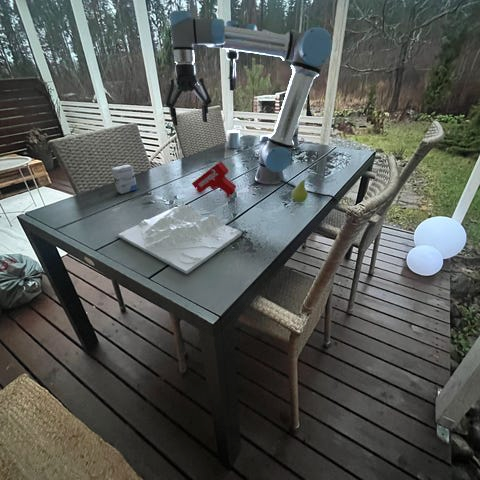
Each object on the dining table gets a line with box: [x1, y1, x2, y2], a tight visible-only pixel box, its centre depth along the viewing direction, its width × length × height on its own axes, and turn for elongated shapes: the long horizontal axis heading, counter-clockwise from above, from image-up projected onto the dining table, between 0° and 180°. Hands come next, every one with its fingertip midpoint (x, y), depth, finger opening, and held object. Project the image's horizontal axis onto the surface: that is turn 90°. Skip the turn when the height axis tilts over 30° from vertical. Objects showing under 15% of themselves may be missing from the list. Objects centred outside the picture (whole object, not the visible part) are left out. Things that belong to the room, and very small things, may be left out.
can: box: [227, 129, 241, 149], centre depth 202 cm, size 9×9×11 cm
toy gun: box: [191, 161, 237, 197], centre depth 128 cm, size 18×4×15 cm
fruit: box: [291, 174, 311, 204], centre depth 118 cm, size 7×8×12 cm
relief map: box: [117, 202, 243, 275], centre depth 96 cm, size 27×35×5 cm
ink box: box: [110, 164, 138, 195], centre depth 131 cm, size 8×5×12 cm, turn 135°
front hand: (190, 123), depth 115 cm, fingers open, 13 cm apart
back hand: (233, 89), depth 185 cm, fingers open, 13 cm apart
